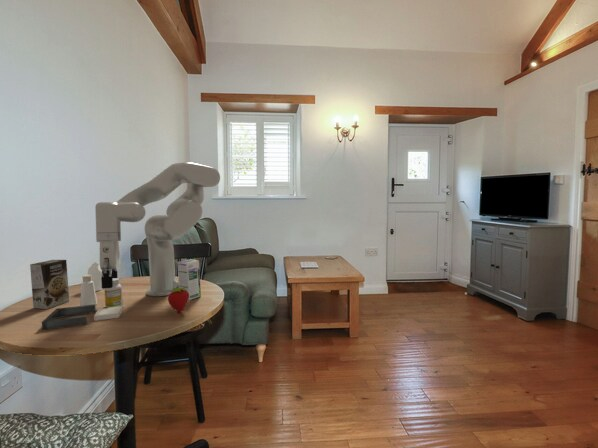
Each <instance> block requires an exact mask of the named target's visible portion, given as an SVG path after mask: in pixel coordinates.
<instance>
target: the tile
mask: <svg viewBox="0 0 598 448" xmlns="http://www.w3.org/2000/svg"><path fill="white" fill-rule="evenodd" d="M122 312H123V305H121V306H119V307H111V308H107V307H104V308H98V309H97V310H96V312H95V314H94V315H93V321H101V320H109V319H117V318H118V319H119V318H120V317H121V314H122Z"/></svg>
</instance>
